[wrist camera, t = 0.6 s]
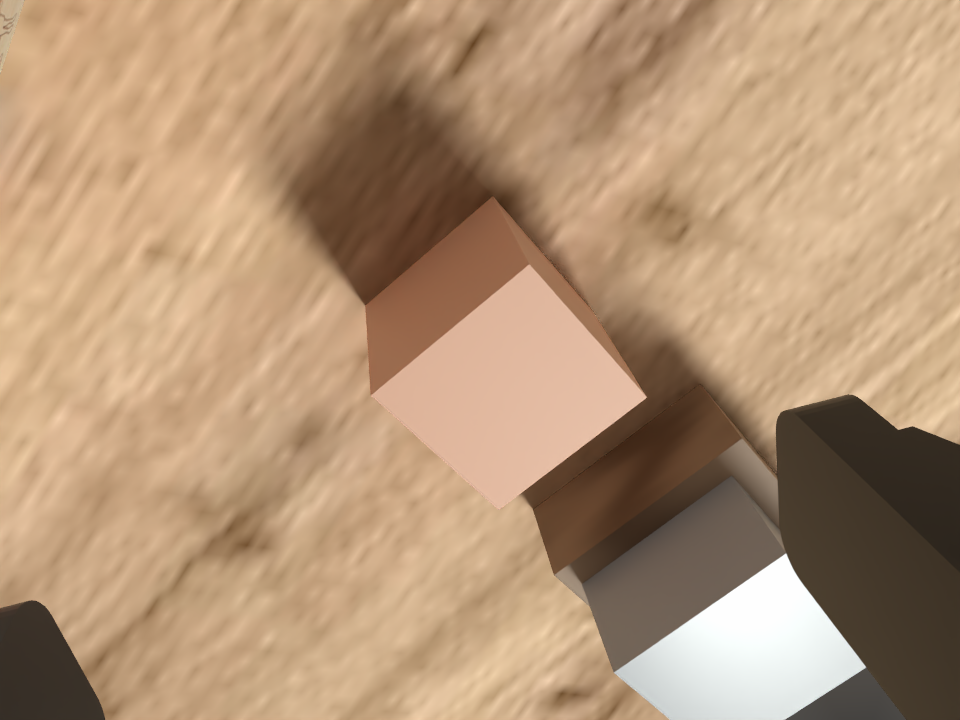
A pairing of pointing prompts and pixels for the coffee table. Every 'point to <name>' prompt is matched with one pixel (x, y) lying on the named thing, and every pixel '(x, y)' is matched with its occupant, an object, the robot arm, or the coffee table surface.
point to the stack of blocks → (8, 24)
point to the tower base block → (649, 487)
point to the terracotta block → (494, 357)
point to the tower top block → (717, 617)
